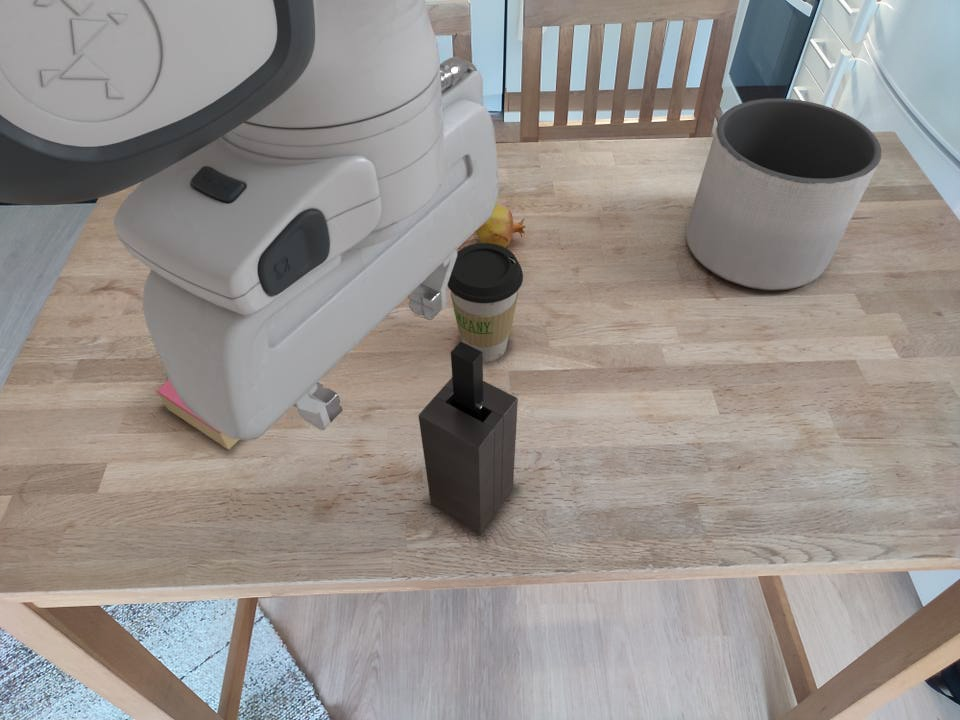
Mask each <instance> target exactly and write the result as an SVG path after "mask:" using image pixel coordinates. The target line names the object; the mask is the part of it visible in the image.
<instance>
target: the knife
mask: <svg viewBox="0 0 960 720" xmlns="http://www.w3.org/2000/svg"><path fill="white" fill-rule="evenodd" d="M450 363H451V364H450V365H451V378H452V381H453V396H454V401H455V407H456V408H457V409H459V410H460V411H462V412H464V413H466V414H468V415H470V416H472V417H474V418H475V419H477V420H479V421H481V422H483V406H482V405H480V403H481V402H482V401H483V381H484V362H483V352H482V351H480V350H478V349H475V348H473V347H471V346H469V345H467V344H465V343H463V342H462V341H459V342H458V344H457V345H456V346H455V347H453V349H452V350H451V351H450Z"/></svg>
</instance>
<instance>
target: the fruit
mask: <svg viewBox="0 0 960 720" xmlns="http://www.w3.org/2000/svg"><path fill="white" fill-rule="evenodd" d="M524 221H525V217H523V218H522V219H521V221H520V222H514V219H513V213H512V211H511V210H510V209H509V208H508V207H506V206H504V205H502V204H496V205H495V207H494V210H493V213H492V215H491V217H490V218H489V219H488V220H487V221H486V222H485V223H484V224H483V225H482V226H481V227H480V228H478V229H477V230H476V231H475V233H476V236H477V238H478V240H479V243H491V244H497V245H500V246H503V247H505V248H507V247H508V246H509V245H510V244H511V241H512V238H513V235H514V234H515V233H519V234H520V237H521V239H523V235H526V232H525V230H524V229H525V228H527V226H526V225H524V224H523V223H524Z"/></svg>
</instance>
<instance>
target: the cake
mask: <svg viewBox="0 0 960 720" xmlns="http://www.w3.org/2000/svg"><path fill="white" fill-rule="evenodd" d="M155 392H156V393H157V395H158V396H159V398H160V400H161V401H162V403H163V405H164V407H166V409H167V410H168V411H170V413H172V414H174V415H176V416H177V417H179V418H180V419H181V420H183V421H185V422H186V423H187V424H189V425H191V426H192V427H194V428H195V429H197V430H198V431H199V432H201V433H202V434H204V435H205V436H207V437H208V438H210V439H211V440H213V441H214V442H216V443H218V444H219V445H220V446H222V447H224V448H225V449H226V450H231V449H232V448H233V447H234V446H235V445H236V444H237V443H238V442H239V441H241V440H240V439H233V438H230V437H228V436H226V435H224V434H222V433H221V432H219V431H217V430H216V429H214V428H213V427H211V426H210V425H208V424H207V423H205V422H204V421H202V420H201V419H200V418H198V417H197V416H196V415H195V414H193V413H192V412H191V411H190V410H189V409H188V408H187V407H186V406H185V405H184V404H183V402H182V401H181V399H180V397H179V396H178V394H177V393H176V391H175V389H174V387H173V385H172V384H171V382H170V380H169V379H168V380H167V381H166V382H165V383H163V384H162V385H161V386H159V388H157V389H156V391H155Z"/></svg>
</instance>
